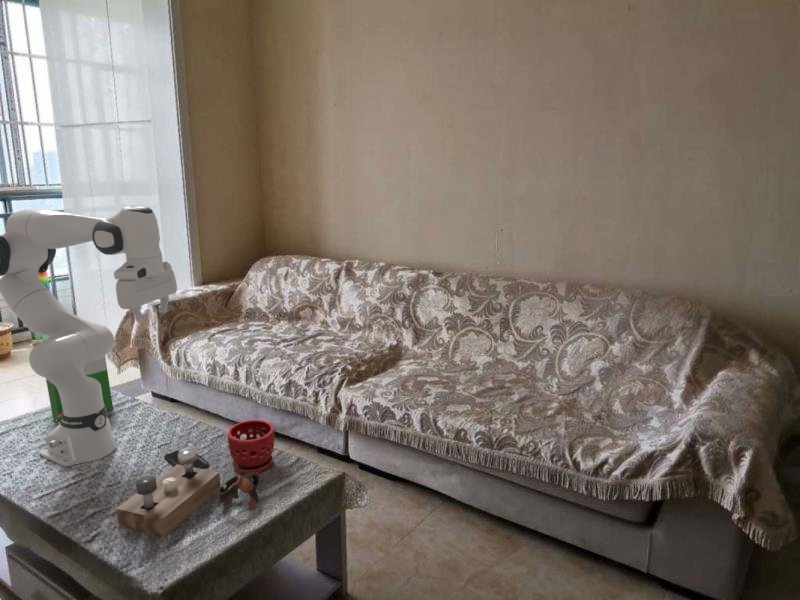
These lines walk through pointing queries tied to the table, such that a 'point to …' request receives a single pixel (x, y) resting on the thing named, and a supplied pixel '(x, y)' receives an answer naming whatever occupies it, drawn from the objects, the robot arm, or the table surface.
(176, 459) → the phone
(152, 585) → the table surface
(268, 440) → the plant pot
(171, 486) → the dial
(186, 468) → the silver knob
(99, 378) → the hardback book
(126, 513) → the mount
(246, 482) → the brown open round fixture
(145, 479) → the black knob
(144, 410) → the table surface
